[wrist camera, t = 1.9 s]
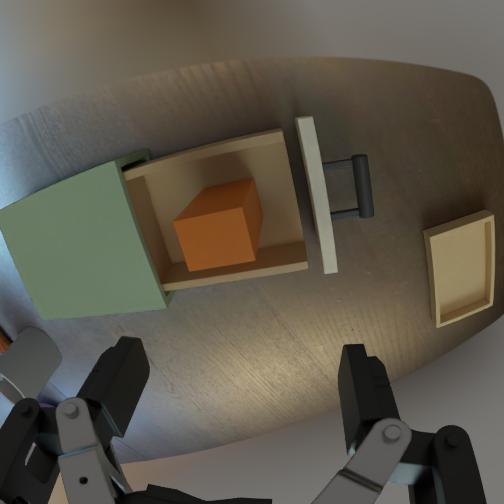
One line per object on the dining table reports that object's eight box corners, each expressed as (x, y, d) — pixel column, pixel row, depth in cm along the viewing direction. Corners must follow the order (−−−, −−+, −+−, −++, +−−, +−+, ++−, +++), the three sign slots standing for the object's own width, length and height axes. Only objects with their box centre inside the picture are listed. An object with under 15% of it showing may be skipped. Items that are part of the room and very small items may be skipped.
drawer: (349, 109, 27) (365, 109, 21) (368, 238, 32) (383, 264, 27) (135, 158, 30) (108, 168, 25) (173, 272, 36) (156, 299, 30)
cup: (69, 358, 46) (36, 406, 36) (49, 370, 49) (20, 412, 38) (34, 319, 44) (-5, 364, 33) (17, 335, 46) (-17, 375, 36)
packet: (253, 177, 29) (242, 206, 21) (263, 216, 31) (255, 260, 22) (203, 188, 30) (172, 221, 22) (214, 226, 32) (189, 272, 23)
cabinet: (148, 147, 31) (114, 160, 24) (187, 271, 37) (167, 308, 30) (32, 193, 34) (-6, 212, 27) (71, 289, 40) (42, 320, 33)
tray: (422, 230, 32) (429, 237, 30) (485, 209, 30) (494, 214, 28) (431, 319, 37) (436, 328, 35) (486, 297, 35) (492, 305, 33)
